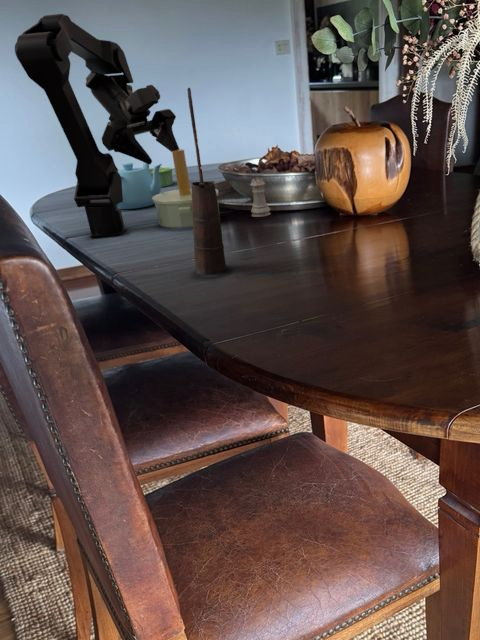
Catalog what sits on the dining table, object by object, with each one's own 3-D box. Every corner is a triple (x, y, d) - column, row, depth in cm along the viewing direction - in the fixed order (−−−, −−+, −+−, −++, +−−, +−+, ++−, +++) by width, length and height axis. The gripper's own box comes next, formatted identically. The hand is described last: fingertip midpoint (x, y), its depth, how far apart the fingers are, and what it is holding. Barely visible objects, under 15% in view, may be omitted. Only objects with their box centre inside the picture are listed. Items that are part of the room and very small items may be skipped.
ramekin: (143, 185, 195) (140, 169, 193) (173, 181, 197) (170, 166, 195) (145, 189, 187) (142, 173, 185) (176, 185, 189) (173, 169, 187)
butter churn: (232, 283, 104) (204, 88, 90) (176, 284, 106) (140, 93, 92) (246, 266, 112) (223, 84, 98) (194, 267, 114) (163, 89, 99)
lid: (149, 209, 136) (139, 158, 131) (156, 196, 149) (147, 149, 144) (218, 202, 137) (211, 151, 132) (219, 190, 150) (212, 143, 145)
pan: (155, 235, 137) (150, 208, 134) (163, 216, 153) (159, 192, 150) (219, 228, 138) (216, 202, 135) (220, 210, 154) (217, 186, 151)
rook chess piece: (268, 219, 143) (264, 181, 138) (248, 219, 143) (244, 181, 139) (273, 214, 146) (269, 177, 142) (254, 214, 147) (250, 177, 143)
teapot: (112, 214, 160) (102, 170, 154) (102, 204, 171) (92, 163, 166) (170, 205, 165) (162, 162, 159) (156, 196, 176) (148, 156, 171)
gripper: (96, 78, 129) (149, 138, 129) (160, 68, 142) (208, 123, 142) (80, 121, 137) (130, 178, 137) (142, 108, 150) (187, 160, 150)
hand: (165, 158), depth 142 cm, fingers open, 9 cm apart
